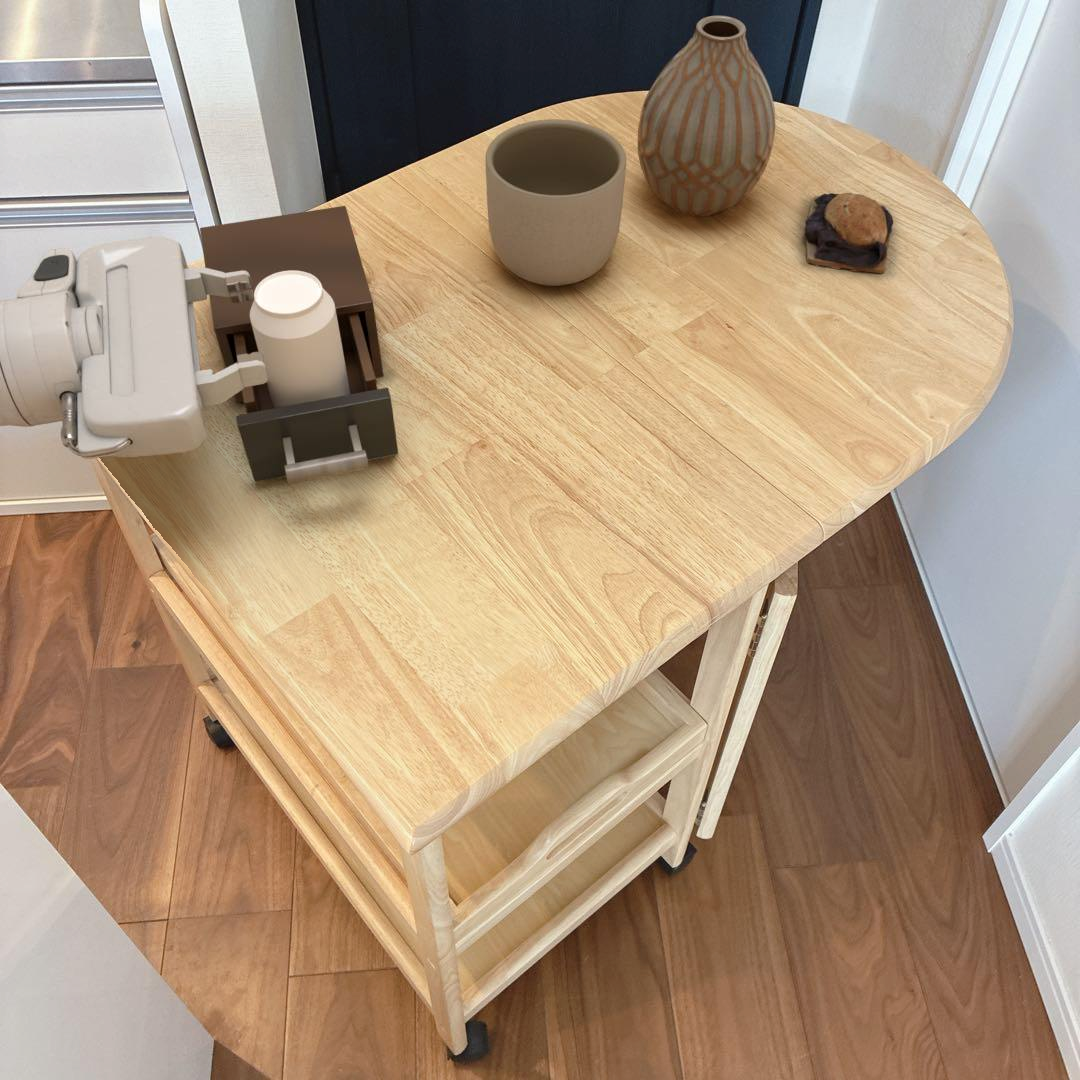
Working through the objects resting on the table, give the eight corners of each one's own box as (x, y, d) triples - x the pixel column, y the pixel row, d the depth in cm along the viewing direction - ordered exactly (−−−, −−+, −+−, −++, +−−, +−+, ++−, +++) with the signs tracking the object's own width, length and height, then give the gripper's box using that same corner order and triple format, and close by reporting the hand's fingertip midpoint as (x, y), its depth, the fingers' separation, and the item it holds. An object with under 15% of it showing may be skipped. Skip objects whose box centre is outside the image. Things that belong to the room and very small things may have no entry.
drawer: (409, 493, 82) (401, 436, 77) (260, 523, 80) (243, 467, 75) (370, 352, 92) (362, 294, 87) (238, 375, 90) (221, 318, 85)
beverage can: (320, 372, 89) (296, 253, 79) (368, 409, 86) (349, 291, 76) (260, 409, 86) (227, 290, 76) (307, 449, 83) (279, 331, 74)
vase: (625, 162, 112) (640, -7, 98) (748, 159, 112) (779, -9, 99) (639, 238, 104) (657, 65, 90) (771, 234, 104) (809, 62, 91)
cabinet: (383, 376, 91) (373, 301, 85) (235, 403, 89) (213, 328, 83) (356, 279, 99) (345, 205, 93) (220, 302, 97) (199, 227, 91)
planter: (642, 276, 100) (653, 174, 91) (526, 316, 96) (526, 213, 88) (577, 207, 107) (582, 105, 98) (466, 242, 103) (461, 139, 94)
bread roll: (807, 201, 108) (814, 168, 105) (891, 212, 107) (901, 180, 104) (799, 263, 102) (807, 231, 99) (888, 276, 100) (899, 244, 98)
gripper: (43, 427, 66) (266, 388, 69) (47, 236, 78) (236, 208, 81) (77, 493, 71) (283, 454, 74) (75, 303, 83) (252, 275, 86)
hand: (258, 324), depth 77 cm, fingers open, 8 cm apart
